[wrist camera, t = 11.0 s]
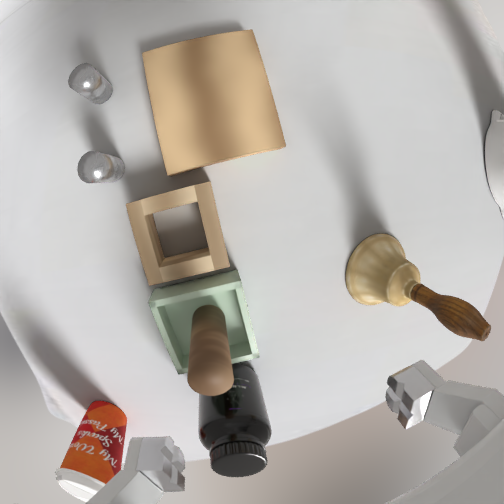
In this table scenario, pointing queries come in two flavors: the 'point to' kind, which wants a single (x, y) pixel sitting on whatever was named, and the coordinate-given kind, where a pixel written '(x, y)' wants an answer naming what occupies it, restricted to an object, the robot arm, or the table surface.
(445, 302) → the hand bell
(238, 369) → the supplement bottle
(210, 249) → the socket block
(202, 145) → the curved tan panel
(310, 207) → the table surface
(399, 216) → the table surface
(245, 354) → the tray
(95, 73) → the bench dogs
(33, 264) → the table surface
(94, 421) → the paper cup
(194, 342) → the dowel
